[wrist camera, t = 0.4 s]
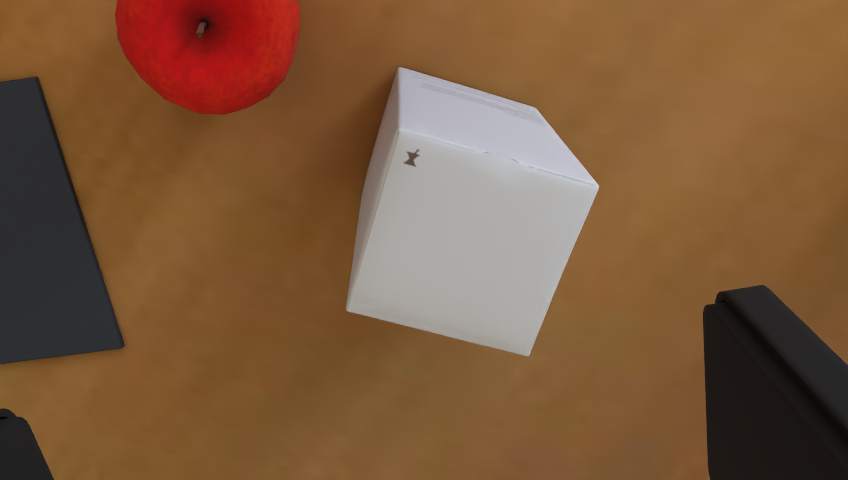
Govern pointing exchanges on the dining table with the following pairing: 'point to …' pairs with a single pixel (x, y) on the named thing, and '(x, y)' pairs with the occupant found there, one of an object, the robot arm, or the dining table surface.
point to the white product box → (465, 215)
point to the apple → (209, 49)
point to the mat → (44, 242)
